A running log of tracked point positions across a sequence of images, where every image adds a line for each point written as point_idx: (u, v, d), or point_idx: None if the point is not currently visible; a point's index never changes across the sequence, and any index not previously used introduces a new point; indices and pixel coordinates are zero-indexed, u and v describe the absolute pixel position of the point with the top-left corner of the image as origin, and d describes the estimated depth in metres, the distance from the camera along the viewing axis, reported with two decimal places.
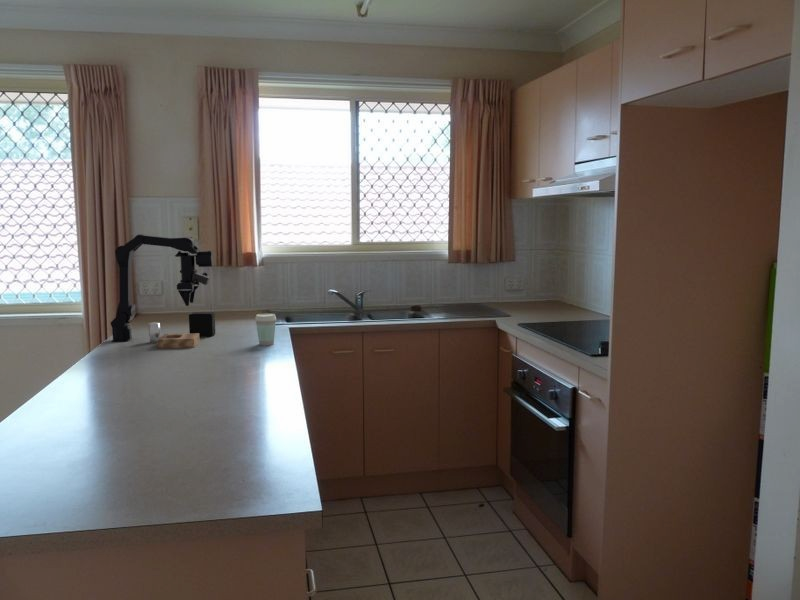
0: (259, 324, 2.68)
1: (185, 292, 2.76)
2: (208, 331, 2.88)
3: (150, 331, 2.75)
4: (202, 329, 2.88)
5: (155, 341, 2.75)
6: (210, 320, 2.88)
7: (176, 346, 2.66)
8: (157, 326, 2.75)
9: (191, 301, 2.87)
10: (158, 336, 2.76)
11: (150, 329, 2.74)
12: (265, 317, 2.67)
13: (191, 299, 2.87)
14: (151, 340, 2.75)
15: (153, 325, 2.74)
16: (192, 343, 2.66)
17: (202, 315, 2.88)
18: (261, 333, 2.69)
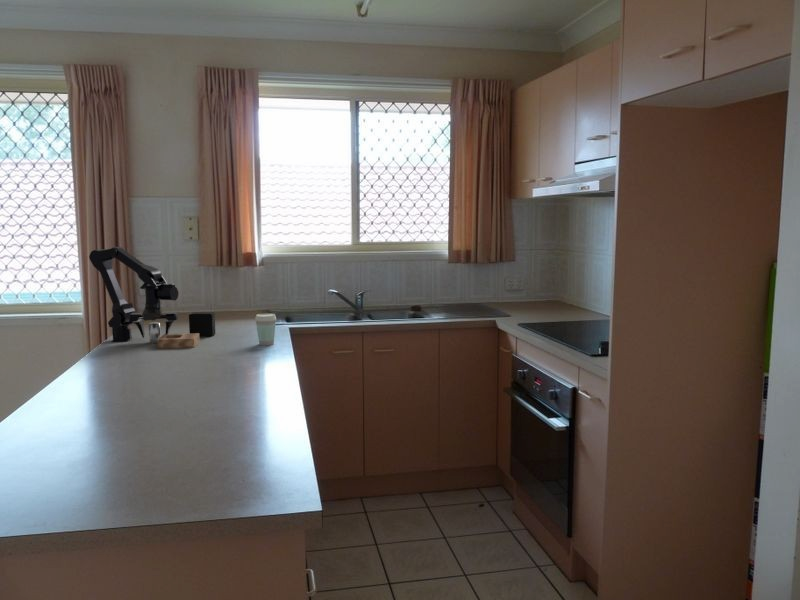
0: (259, 324, 2.68)
1: None
2: (208, 331, 2.88)
3: (150, 331, 2.75)
4: (202, 329, 2.88)
5: (155, 341, 2.75)
6: (210, 320, 2.88)
7: (176, 346, 2.66)
8: (157, 326, 2.75)
9: None
10: (158, 336, 2.76)
11: (150, 329, 2.74)
12: (265, 317, 2.67)
13: None
14: (151, 340, 2.75)
15: (153, 325, 2.74)
16: (192, 343, 2.66)
17: (202, 315, 2.88)
18: (261, 333, 2.69)
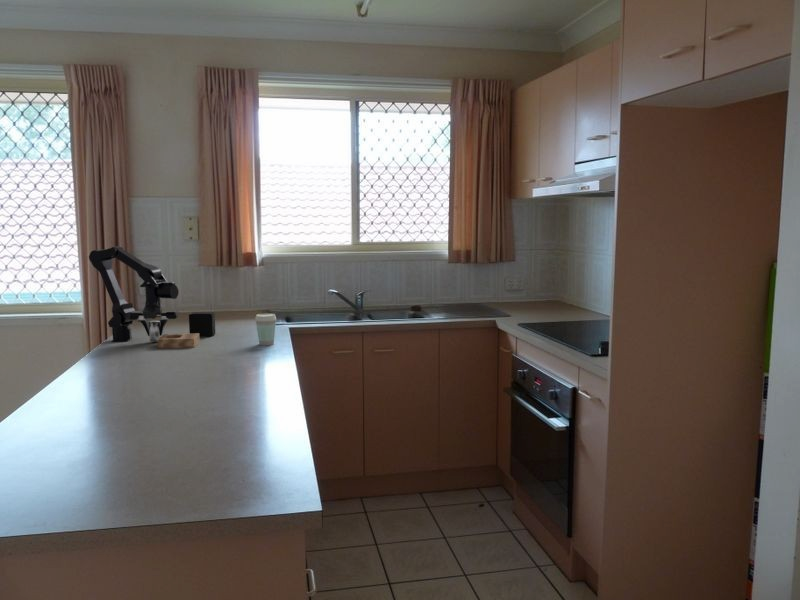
0: (259, 324, 2.68)
1: None
2: (208, 331, 2.88)
3: (150, 329, 2.74)
4: (202, 329, 2.88)
5: (155, 339, 2.75)
6: (210, 320, 2.88)
7: (176, 346, 2.66)
8: (157, 324, 2.75)
9: None
10: (158, 335, 2.76)
11: (150, 327, 2.74)
12: (265, 317, 2.67)
13: None
14: (151, 338, 2.75)
15: (153, 323, 2.74)
16: (192, 343, 2.66)
17: (202, 315, 2.88)
18: (261, 333, 2.69)
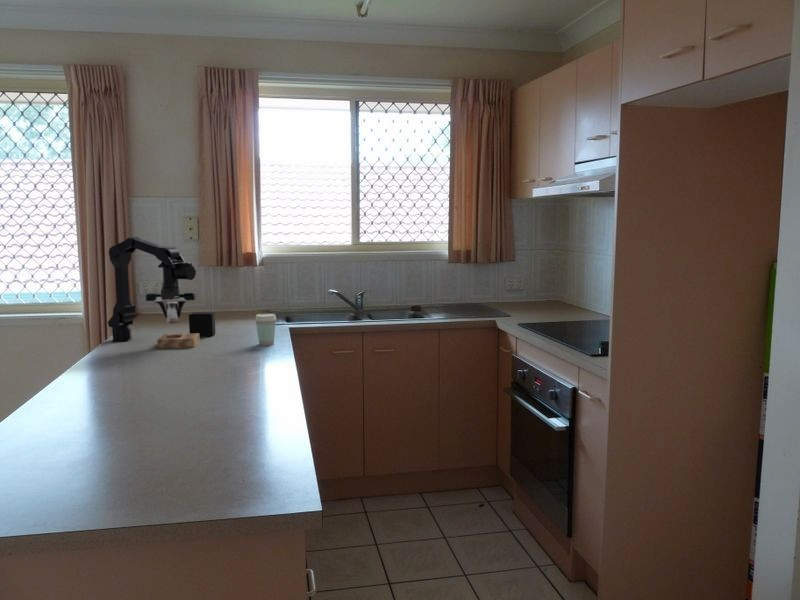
0: (259, 324, 2.68)
1: None
2: (208, 331, 2.88)
3: (168, 311, 2.67)
4: (202, 329, 2.88)
5: (173, 321, 2.68)
6: (210, 320, 2.88)
7: (176, 346, 2.66)
8: (175, 306, 2.68)
9: None
10: (176, 316, 2.69)
11: (168, 309, 2.67)
12: (265, 317, 2.67)
13: None
14: (169, 320, 2.68)
15: (170, 305, 2.67)
16: (192, 343, 2.66)
17: (202, 315, 2.88)
18: (261, 333, 2.69)
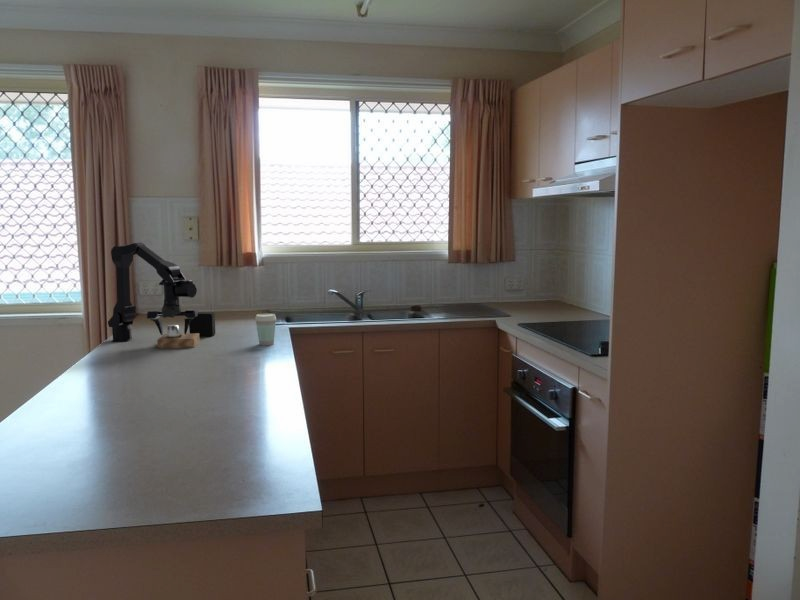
0: (259, 324, 2.68)
1: None
2: (208, 331, 2.88)
3: (169, 334, 2.69)
4: (202, 329, 2.88)
5: None
6: (210, 320, 2.88)
7: (176, 346, 2.66)
8: (176, 329, 2.69)
9: None
10: None
11: (169, 332, 2.69)
12: (265, 317, 2.67)
13: None
14: None
15: (171, 328, 2.68)
16: (192, 343, 2.66)
17: (202, 315, 2.88)
18: (261, 333, 2.69)
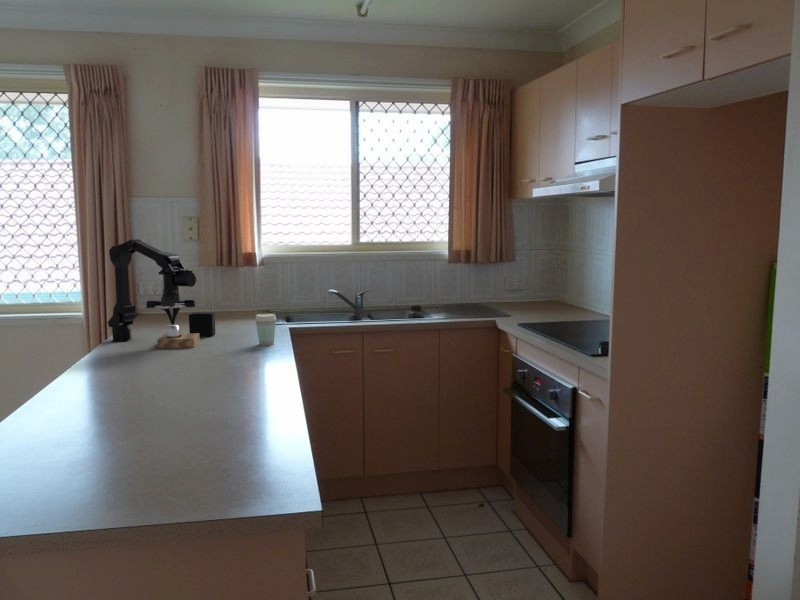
0: (259, 324, 2.68)
1: None
2: (208, 331, 2.88)
3: (169, 334, 2.69)
4: (202, 329, 2.88)
5: None
6: (210, 320, 2.88)
7: (176, 346, 2.66)
8: (176, 329, 2.69)
9: None
10: None
11: (169, 332, 2.69)
12: (265, 317, 2.67)
13: None
14: None
15: (171, 328, 2.68)
16: (192, 343, 2.66)
17: (202, 315, 2.88)
18: (261, 333, 2.69)
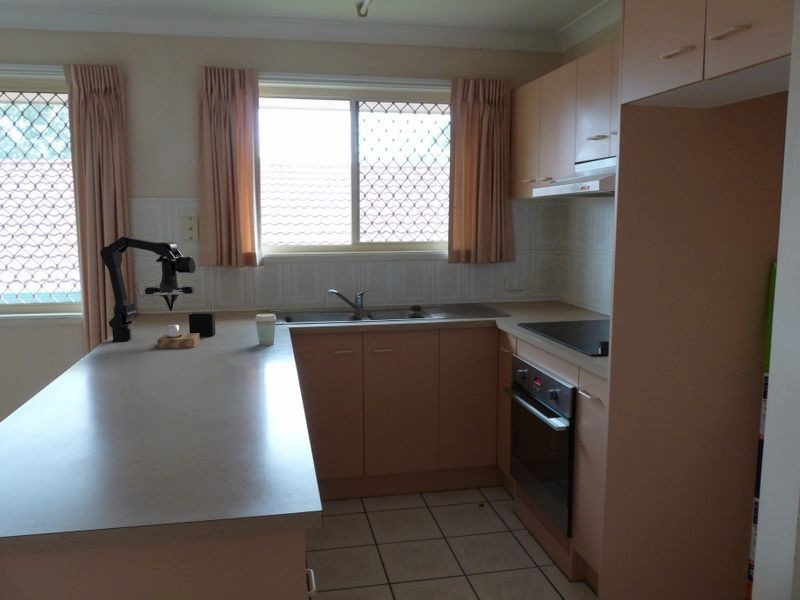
0: (259, 324, 2.68)
1: None
2: (208, 331, 2.88)
3: (169, 334, 2.69)
4: (202, 329, 2.88)
5: None
6: (210, 320, 2.88)
7: (176, 346, 2.66)
8: (176, 329, 2.69)
9: None
10: None
11: (169, 332, 2.69)
12: (265, 317, 2.67)
13: None
14: None
15: (171, 328, 2.68)
16: (192, 343, 2.66)
17: (202, 315, 2.88)
18: (261, 333, 2.69)
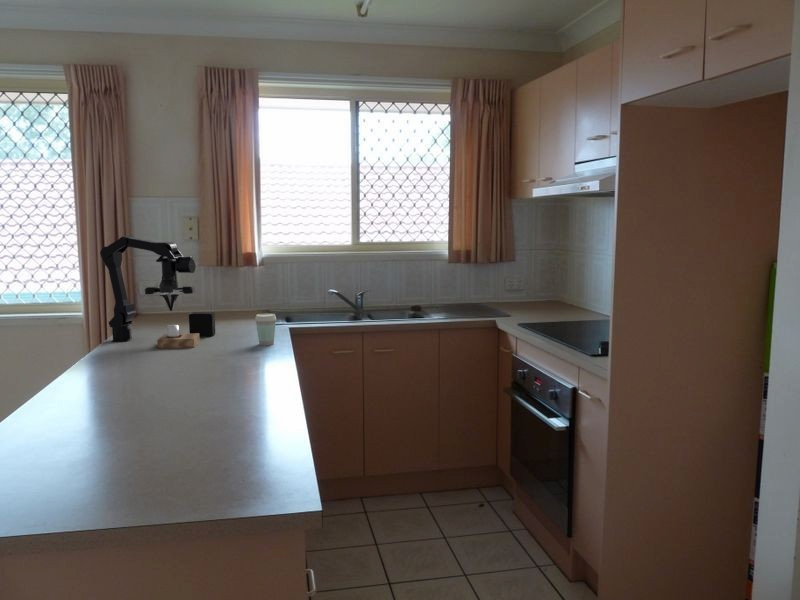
0: (259, 324, 2.68)
1: None
2: (208, 331, 2.88)
3: (169, 334, 2.69)
4: (202, 329, 2.88)
5: None
6: (210, 320, 2.88)
7: (176, 346, 2.66)
8: (176, 329, 2.69)
9: None
10: None
11: (169, 332, 2.69)
12: (265, 317, 2.67)
13: None
14: None
15: (171, 328, 2.68)
16: (192, 343, 2.66)
17: (202, 315, 2.88)
18: (261, 333, 2.69)
